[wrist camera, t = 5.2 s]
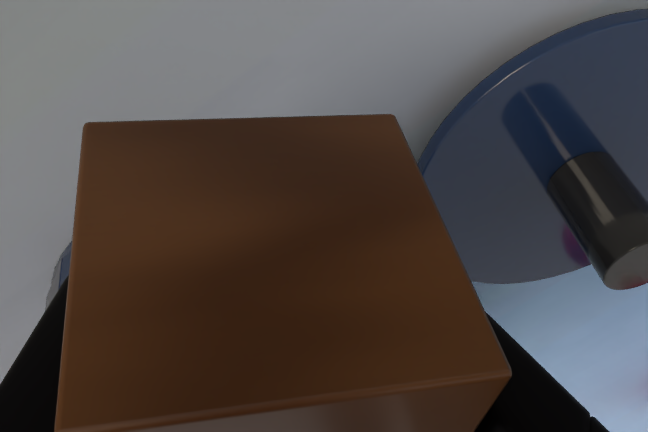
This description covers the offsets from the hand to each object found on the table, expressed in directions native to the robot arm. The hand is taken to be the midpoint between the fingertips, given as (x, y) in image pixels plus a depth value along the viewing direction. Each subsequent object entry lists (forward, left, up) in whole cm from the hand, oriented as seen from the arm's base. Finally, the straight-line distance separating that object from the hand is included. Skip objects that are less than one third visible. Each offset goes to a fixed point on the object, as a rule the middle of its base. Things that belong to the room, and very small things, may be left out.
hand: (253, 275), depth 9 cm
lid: (-14, -5, -9) cm, 17 cm away
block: (0, 0, -1) cm, 1 cm away
